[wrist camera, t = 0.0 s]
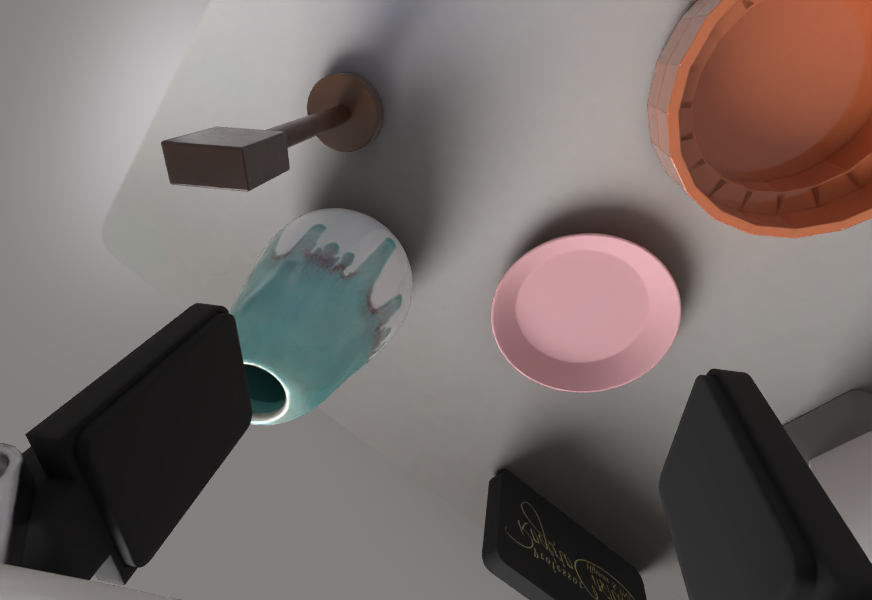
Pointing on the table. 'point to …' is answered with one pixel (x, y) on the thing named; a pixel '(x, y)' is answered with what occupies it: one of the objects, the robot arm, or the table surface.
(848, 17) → the bowl
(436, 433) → the table surface
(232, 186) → the brown disc-based post
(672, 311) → the plate
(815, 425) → the alarm clock
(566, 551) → the nameplate
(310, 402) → the vase
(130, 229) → the table surface
